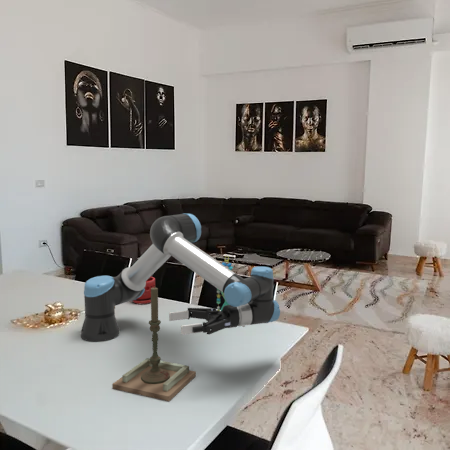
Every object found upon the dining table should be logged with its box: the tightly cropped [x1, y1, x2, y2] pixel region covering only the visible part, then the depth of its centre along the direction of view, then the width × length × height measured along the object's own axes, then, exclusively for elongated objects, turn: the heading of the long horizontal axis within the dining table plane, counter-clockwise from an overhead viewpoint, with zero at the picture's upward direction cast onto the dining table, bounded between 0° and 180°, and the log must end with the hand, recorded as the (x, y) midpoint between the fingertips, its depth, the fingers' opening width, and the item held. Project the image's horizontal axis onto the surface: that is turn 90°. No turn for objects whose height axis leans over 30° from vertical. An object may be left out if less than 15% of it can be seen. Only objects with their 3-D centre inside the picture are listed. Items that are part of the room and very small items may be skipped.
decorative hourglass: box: [216, 255, 234, 311], centre depth 203 cm, size 11×11×30 cm
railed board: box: [111, 357, 197, 402], centre depth 146 cm, size 20×18×4 cm
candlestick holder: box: [141, 285, 170, 384], centre depth 144 cm, size 9×9×30 cm
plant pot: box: [132, 276, 156, 305], centre depth 232 cm, size 13×13×12 cm
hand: (175, 323), depth 146 cm, fingers open, 13 cm apart
